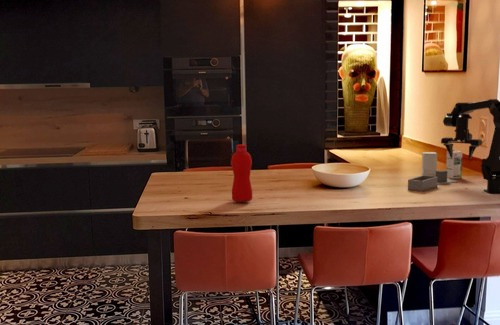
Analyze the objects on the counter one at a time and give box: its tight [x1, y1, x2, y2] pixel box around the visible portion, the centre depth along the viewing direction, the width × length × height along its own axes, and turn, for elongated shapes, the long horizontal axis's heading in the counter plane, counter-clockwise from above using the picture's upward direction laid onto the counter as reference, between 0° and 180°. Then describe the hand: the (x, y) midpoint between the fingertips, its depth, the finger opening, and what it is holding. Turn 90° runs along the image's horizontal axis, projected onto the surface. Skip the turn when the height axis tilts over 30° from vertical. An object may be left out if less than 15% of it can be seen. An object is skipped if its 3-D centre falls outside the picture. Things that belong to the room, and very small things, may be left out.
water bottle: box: [230, 144, 253, 203], centre depth 232 cm, size 9×11×25 cm
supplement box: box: [421, 151, 438, 177], centre depth 289 cm, size 7×7×13 cm
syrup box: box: [445, 150, 463, 180], centre depth 279 cm, size 6×6×14 cm
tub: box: [407, 174, 438, 193], centre depth 252 cm, size 16×7×5 cm, turn 136°
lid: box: [435, 169, 459, 186], centre depth 267 cm, size 16×7×6 cm, turn 117°
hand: (460, 158), depth 261 cm, fingers open, 9 cm apart
